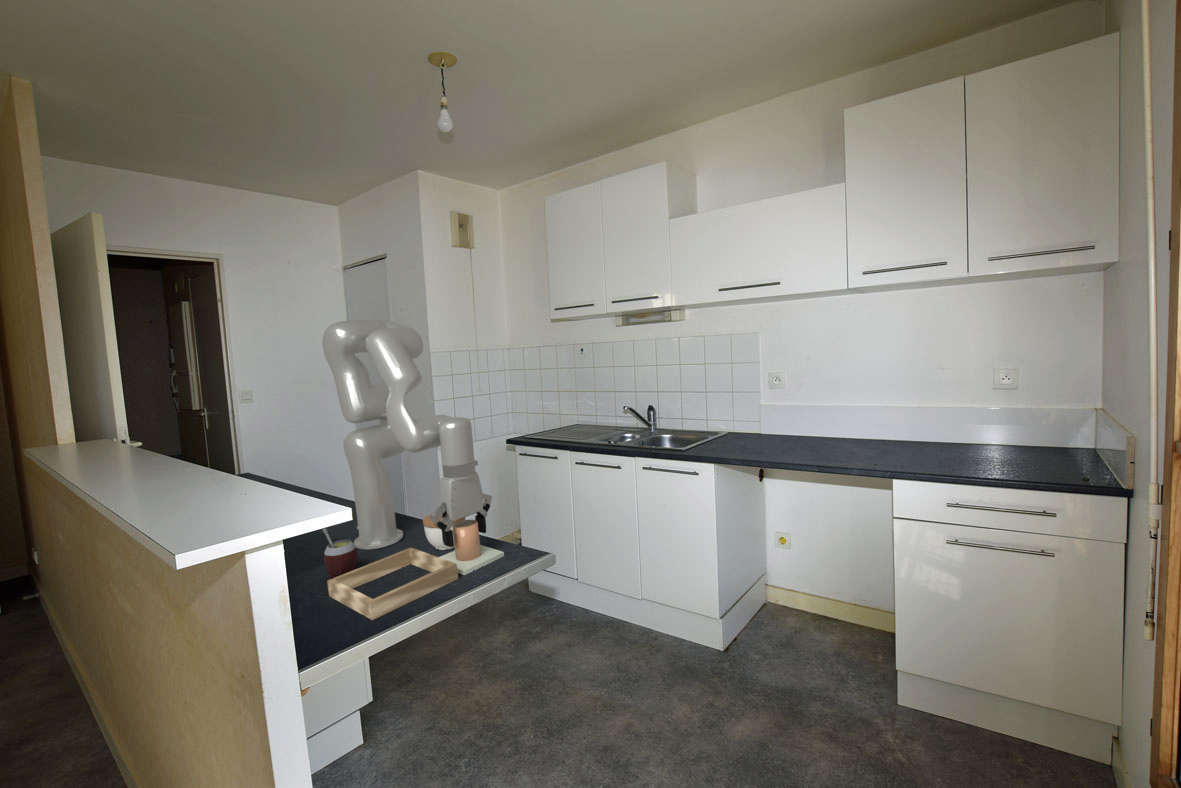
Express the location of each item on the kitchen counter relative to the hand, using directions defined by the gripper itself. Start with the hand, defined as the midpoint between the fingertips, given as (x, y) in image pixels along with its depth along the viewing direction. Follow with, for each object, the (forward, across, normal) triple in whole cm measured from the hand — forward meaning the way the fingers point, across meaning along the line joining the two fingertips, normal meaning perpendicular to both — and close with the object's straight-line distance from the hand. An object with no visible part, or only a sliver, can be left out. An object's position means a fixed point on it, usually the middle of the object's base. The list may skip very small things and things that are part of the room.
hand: (465, 538), depth 130 cm
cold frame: (+5, +18, -2) cm, 19 cm away
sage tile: (+5, 0, 0) cm, 5 cm away
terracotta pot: (+4, 0, 0) cm, 4 cm away
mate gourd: (+6, +22, -18) cm, 29 cm away
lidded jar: (+6, -3, -12) cm, 14 cm away
